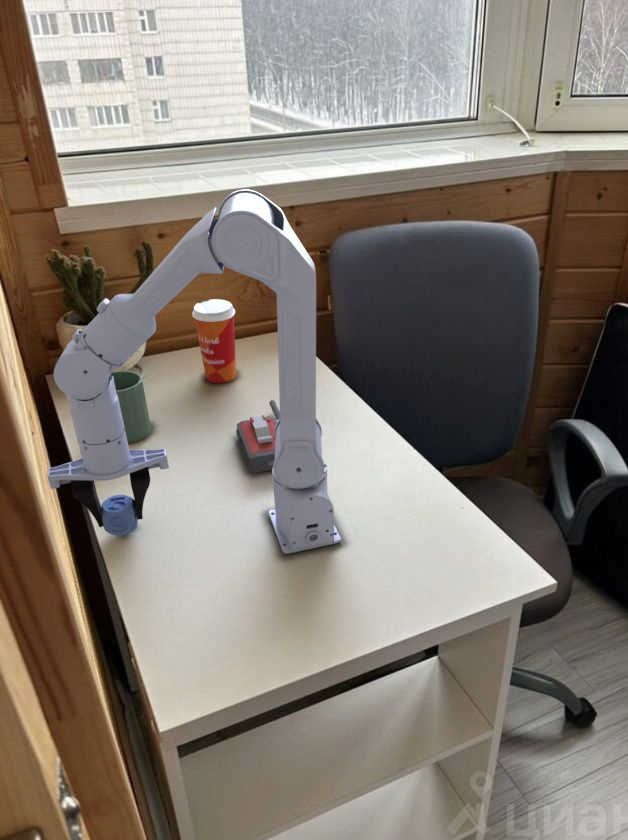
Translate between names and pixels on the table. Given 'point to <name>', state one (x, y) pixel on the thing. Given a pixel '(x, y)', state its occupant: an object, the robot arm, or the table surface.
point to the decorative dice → (119, 515)
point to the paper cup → (216, 339)
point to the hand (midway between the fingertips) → (121, 518)
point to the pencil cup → (132, 404)
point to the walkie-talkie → (259, 440)
